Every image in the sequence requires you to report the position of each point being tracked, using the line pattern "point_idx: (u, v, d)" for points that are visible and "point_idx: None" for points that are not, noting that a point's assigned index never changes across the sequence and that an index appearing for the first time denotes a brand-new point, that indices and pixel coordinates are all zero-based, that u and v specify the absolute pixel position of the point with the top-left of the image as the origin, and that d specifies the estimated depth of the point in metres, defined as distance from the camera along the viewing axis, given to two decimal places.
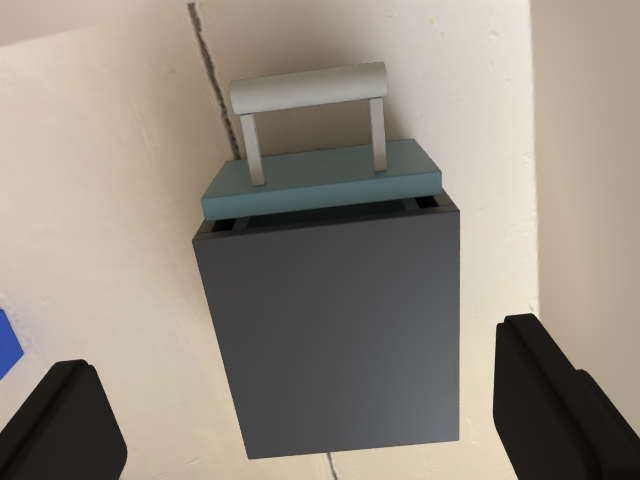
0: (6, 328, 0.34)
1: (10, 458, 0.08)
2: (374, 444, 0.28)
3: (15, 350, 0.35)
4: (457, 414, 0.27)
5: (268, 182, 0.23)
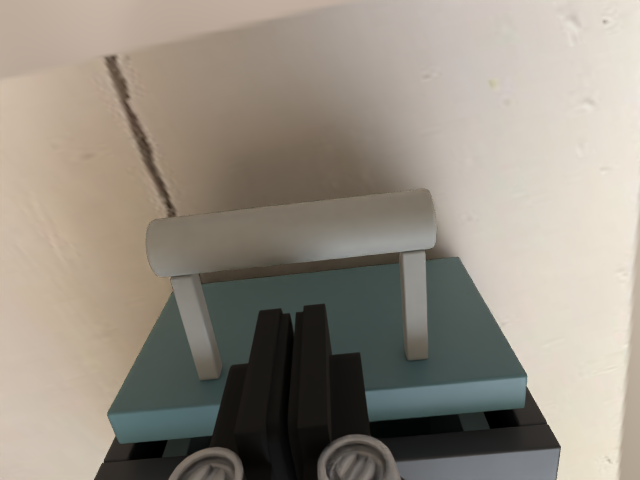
0: None
1: (270, 383, 0.09)
2: None
3: None
4: None
5: (226, 370, 0.14)
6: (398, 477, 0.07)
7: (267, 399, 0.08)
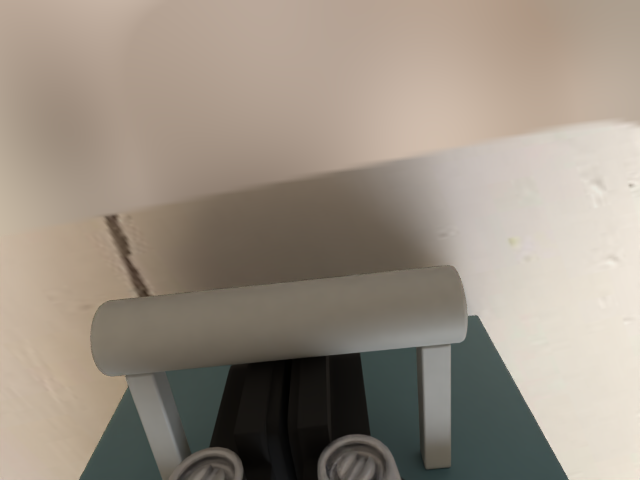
0: None
1: (270, 383, 0.09)
2: None
3: None
4: None
5: None
6: (398, 477, 0.07)
7: (267, 399, 0.08)
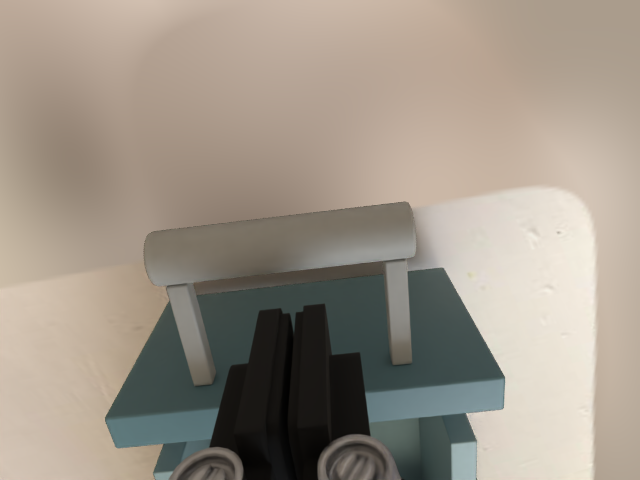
0: None
1: (270, 383, 0.09)
2: None
3: None
4: None
5: (220, 376, 0.14)
6: (398, 477, 0.07)
7: (267, 399, 0.08)
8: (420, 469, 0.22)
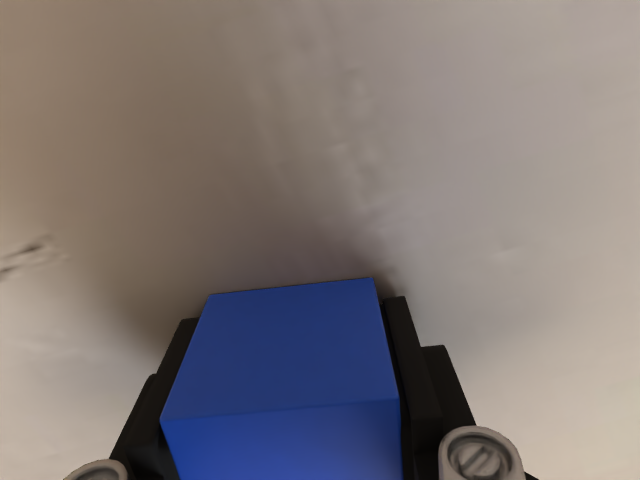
0: None
1: None
2: None
3: None
4: None
5: None
6: None
7: None
8: None
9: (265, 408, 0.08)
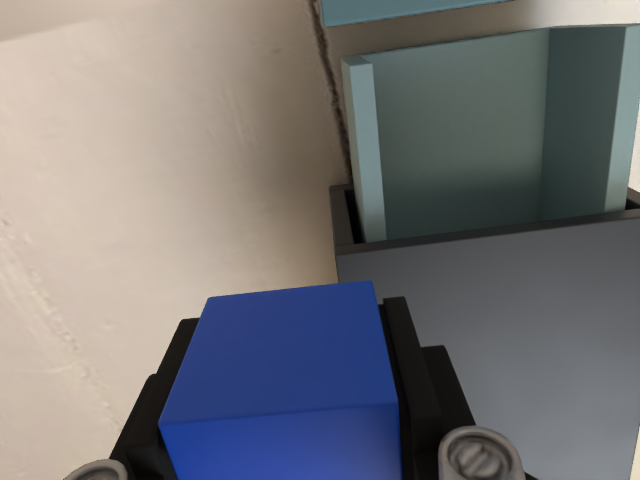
0: None
1: None
2: None
3: None
4: (631, 460, 0.22)
5: None
6: None
7: None
8: (539, 191, 0.24)
9: (263, 411, 0.08)
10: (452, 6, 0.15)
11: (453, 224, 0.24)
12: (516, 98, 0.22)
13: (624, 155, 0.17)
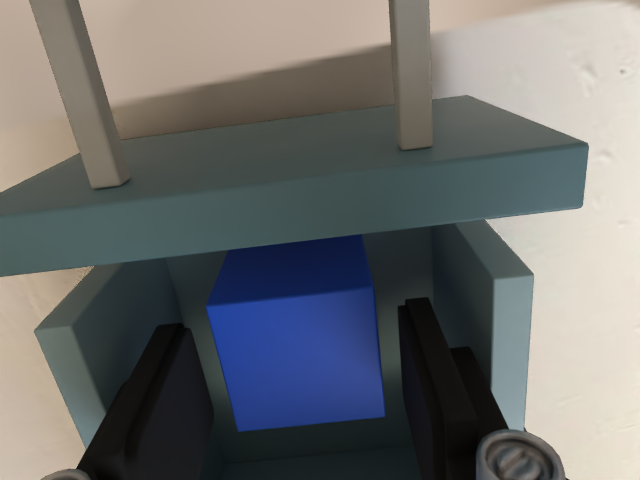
0: None
1: (143, 402, 0.09)
2: None
3: None
4: None
5: (134, 180, 0.09)
6: None
7: (132, 419, 0.08)
8: None
9: (280, 296, 0.11)
10: (182, 254, 0.09)
11: (321, 424, 0.18)
12: (390, 278, 0.15)
13: None
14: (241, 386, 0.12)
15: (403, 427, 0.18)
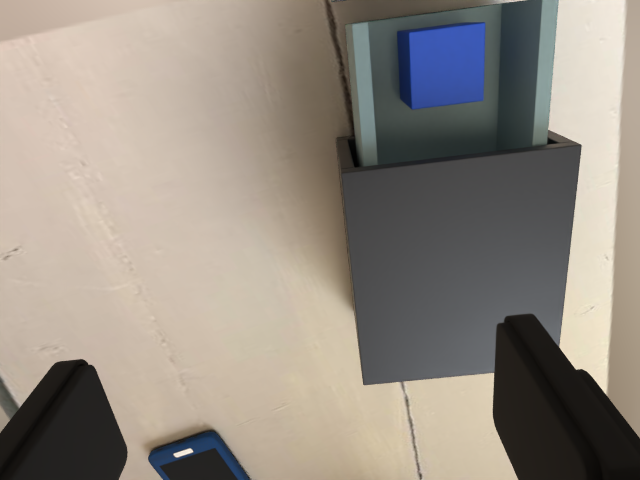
0: None
1: (10, 458, 0.08)
2: (480, 370, 0.31)
3: None
4: (558, 340, 0.30)
5: None
6: None
7: None
8: (496, 131, 0.31)
9: (442, 27, 0.24)
10: None
11: (430, 157, 0.31)
12: None
13: (545, 92, 0.24)
14: (418, 80, 0.26)
15: None
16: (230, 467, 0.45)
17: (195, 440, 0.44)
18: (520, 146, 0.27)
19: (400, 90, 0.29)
